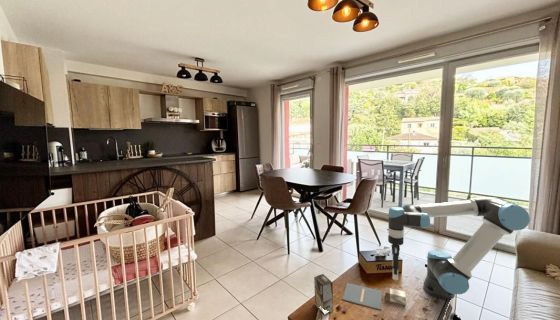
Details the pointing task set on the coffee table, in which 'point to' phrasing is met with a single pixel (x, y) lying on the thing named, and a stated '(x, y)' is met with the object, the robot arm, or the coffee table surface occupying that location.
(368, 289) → the mat
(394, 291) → the cream block
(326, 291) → the coffee box
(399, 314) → the coffee table surface
